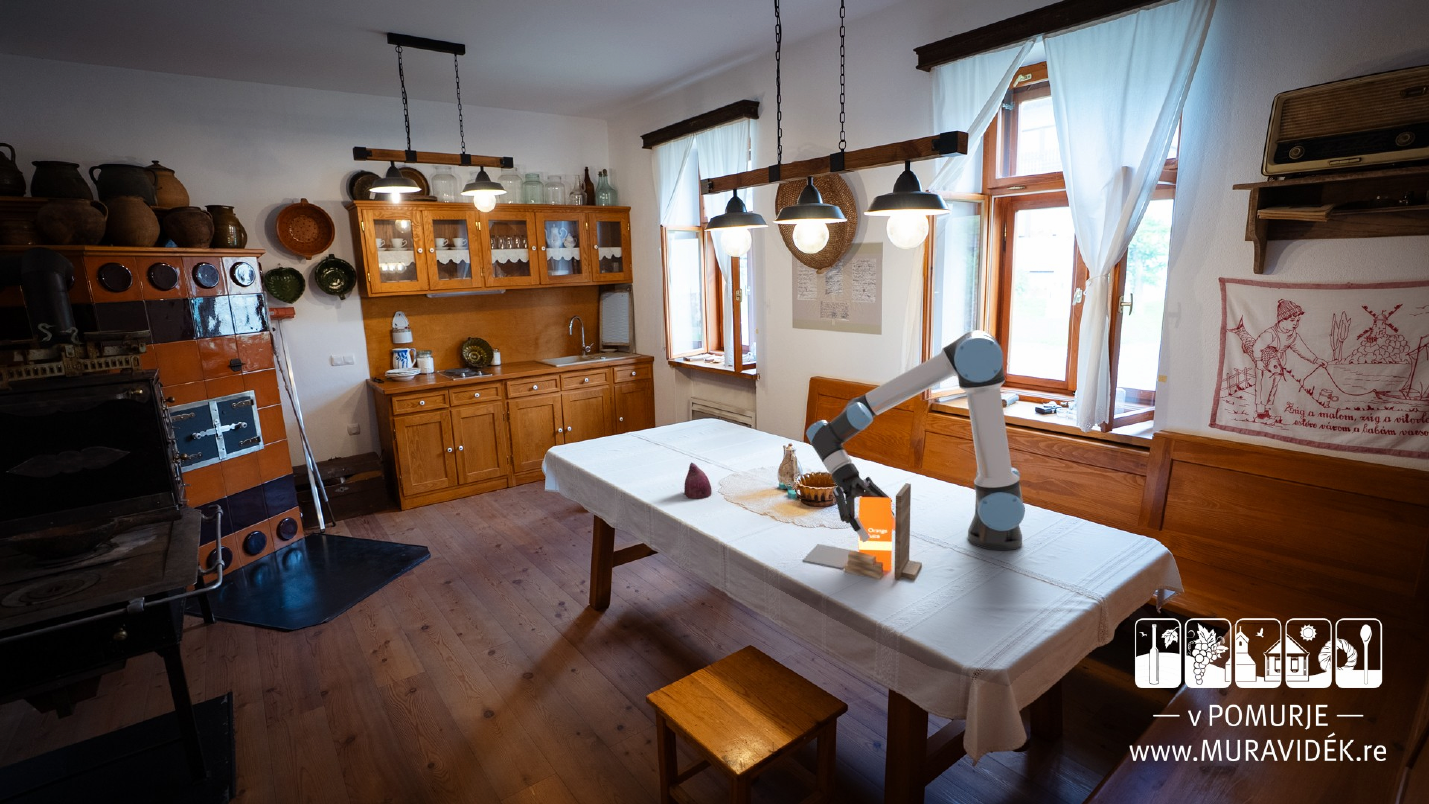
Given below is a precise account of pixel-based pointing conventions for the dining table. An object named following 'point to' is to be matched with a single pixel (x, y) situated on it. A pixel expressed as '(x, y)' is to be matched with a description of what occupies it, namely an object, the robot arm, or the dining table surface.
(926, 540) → the dining table surface
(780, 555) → the dining table surface
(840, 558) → the grey mat
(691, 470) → the vegetable
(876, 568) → the walnut rack
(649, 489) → the dining table surface
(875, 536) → the orange juice
